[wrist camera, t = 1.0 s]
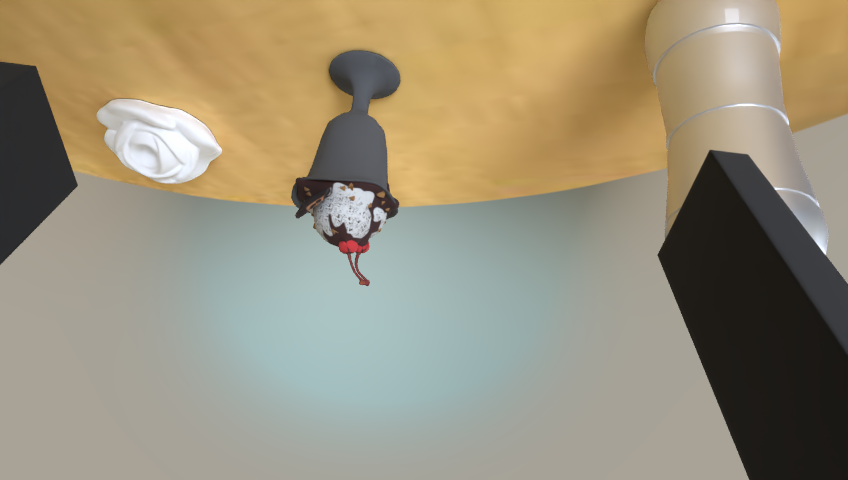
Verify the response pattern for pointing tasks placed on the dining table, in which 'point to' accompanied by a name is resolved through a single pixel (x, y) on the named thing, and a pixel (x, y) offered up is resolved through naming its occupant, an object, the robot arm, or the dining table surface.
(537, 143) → the dining table surface
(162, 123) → the rose
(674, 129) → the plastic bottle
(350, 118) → the sundae
